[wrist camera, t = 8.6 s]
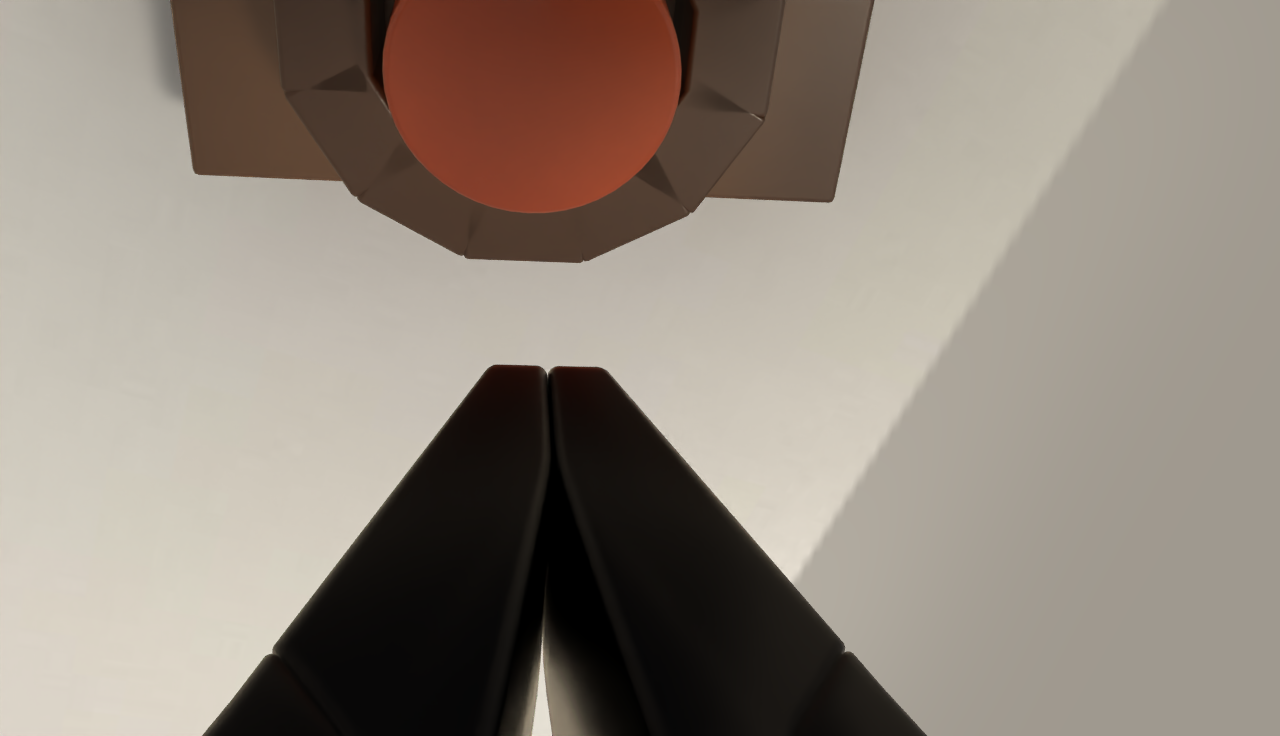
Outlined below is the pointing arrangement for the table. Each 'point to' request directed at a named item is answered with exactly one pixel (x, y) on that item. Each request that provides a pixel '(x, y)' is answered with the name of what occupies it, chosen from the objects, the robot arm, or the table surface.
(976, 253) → the table surface
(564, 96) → the button
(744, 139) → the button block
